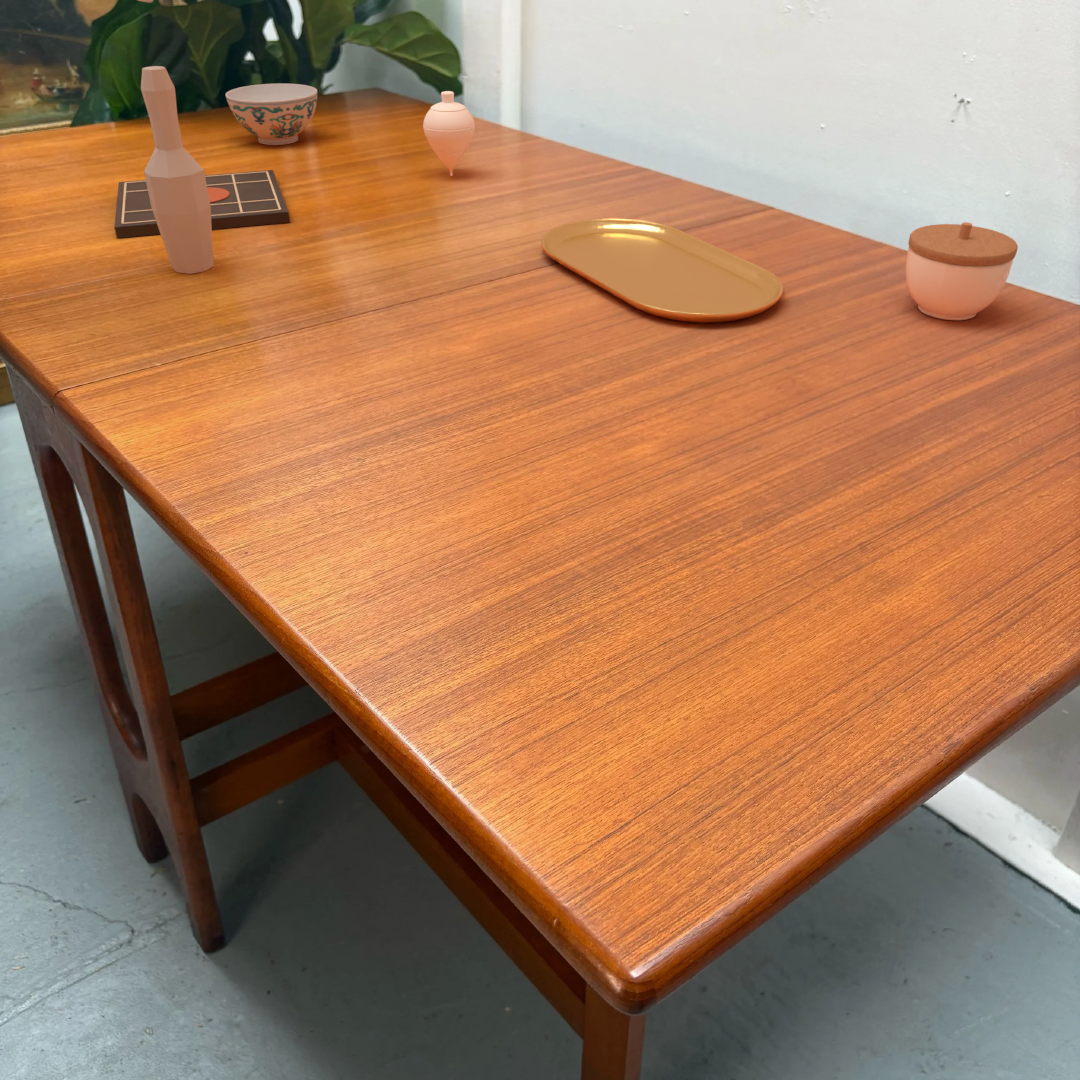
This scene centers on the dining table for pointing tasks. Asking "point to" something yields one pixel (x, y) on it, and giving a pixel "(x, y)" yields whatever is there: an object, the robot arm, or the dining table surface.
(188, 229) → the faceted bottle
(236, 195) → the grid board
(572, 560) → the dining table surface
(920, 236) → the trinket box
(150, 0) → the robot arm
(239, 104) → the chinaware
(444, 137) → the spinning top
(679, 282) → the serving platter
